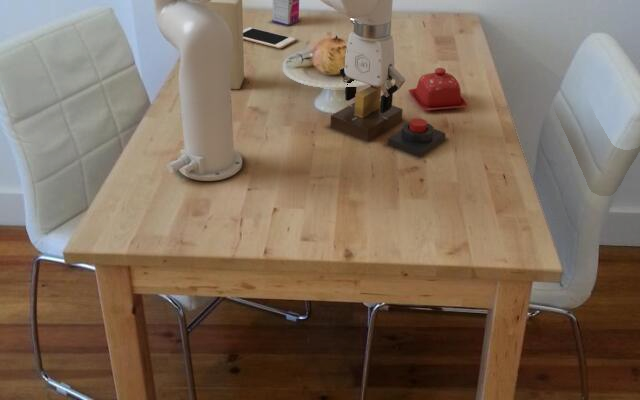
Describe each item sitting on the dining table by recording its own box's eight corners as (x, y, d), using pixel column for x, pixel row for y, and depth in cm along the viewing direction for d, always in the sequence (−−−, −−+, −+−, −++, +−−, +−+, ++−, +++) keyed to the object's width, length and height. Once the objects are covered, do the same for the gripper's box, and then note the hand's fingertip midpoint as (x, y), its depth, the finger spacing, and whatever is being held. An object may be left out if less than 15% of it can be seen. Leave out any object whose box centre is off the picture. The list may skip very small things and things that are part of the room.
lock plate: (369, 142, 157) (369, 129, 155) (329, 127, 162) (329, 114, 160) (402, 121, 165) (404, 108, 163) (363, 107, 171) (364, 95, 169)
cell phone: (280, 49, 200) (280, 46, 200) (232, 36, 207) (232, 34, 207) (296, 40, 206) (296, 38, 205) (249, 28, 213) (249, 26, 212)
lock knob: (362, 118, 159) (363, 96, 156) (354, 115, 160) (355, 93, 158) (379, 108, 164) (381, 86, 161) (371, 105, 165) (373, 83, 162)
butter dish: (421, 115, 168) (424, 80, 163) (406, 94, 178) (409, 60, 173) (469, 111, 170) (473, 77, 166) (451, 90, 180) (455, 57, 175)
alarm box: (419, 157, 152) (421, 142, 150) (387, 145, 156) (388, 130, 154) (444, 140, 158) (446, 125, 156) (413, 128, 162) (414, 114, 160)
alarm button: (420, 135, 153) (421, 127, 152) (405, 130, 155) (406, 122, 154) (429, 129, 156) (430, 121, 155) (415, 124, 157) (415, 116, 156)
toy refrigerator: (245, 77, 184) (242, -7, 173) (240, 89, 178) (236, 3, 166) (214, 75, 184) (209, -9, 173) (207, 87, 178) (201, 1, 167)
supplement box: (288, 26, 216) (288, -13, 209) (272, 22, 218) (271, -17, 212) (299, 21, 220) (300, -18, 214) (283, 17, 222) (283, -22, 216)
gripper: (327, 23, 154) (325, 99, 163) (397, 43, 145) (391, 122, 154) (349, 14, 159) (346, 88, 168) (418, 32, 150) (410, 110, 159)
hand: (367, 104), depth 161 cm, fingers open, 8 cm apart
